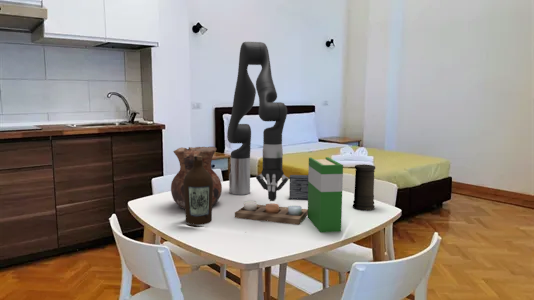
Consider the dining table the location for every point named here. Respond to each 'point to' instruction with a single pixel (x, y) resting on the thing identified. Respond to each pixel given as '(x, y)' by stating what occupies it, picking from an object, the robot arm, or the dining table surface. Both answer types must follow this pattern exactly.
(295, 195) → the small box
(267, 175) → the robot arm
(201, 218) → the olive oil
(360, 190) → the container
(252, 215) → the brown slotted panel
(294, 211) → the pale blue button
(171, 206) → the dining table surface
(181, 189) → the brown clay vase
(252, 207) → the white button
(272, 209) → the terracotta button
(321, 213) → the hardback book
